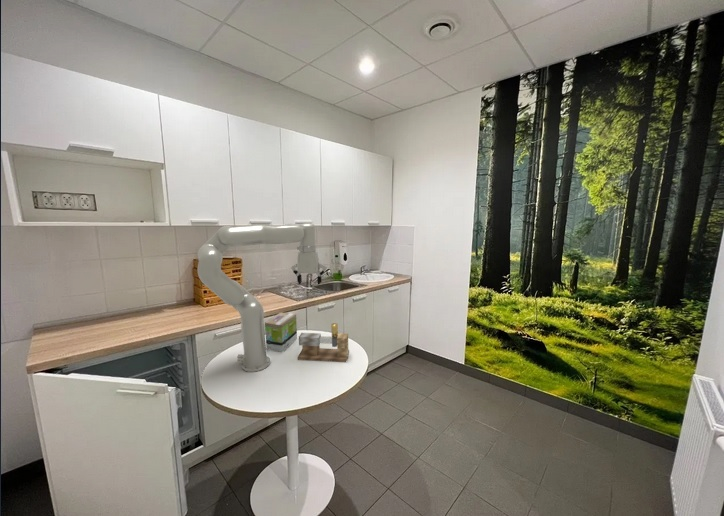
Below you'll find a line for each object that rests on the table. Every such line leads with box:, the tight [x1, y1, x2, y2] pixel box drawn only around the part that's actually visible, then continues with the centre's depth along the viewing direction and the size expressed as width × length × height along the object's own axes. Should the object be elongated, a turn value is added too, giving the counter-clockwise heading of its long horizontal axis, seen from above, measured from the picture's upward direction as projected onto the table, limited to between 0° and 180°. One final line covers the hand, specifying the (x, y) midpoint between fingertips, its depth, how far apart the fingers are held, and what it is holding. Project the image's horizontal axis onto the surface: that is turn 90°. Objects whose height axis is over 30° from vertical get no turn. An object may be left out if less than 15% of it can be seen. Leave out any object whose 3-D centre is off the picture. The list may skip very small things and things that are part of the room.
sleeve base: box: [297, 332, 350, 363], centre depth 144 cm, size 24×9×11 cm, turn 84°
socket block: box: [336, 332, 350, 357], centre depth 143 cm, size 4×5×10 cm
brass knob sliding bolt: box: [319, 322, 339, 348], centre depth 142 cm, size 14×4×10 cm, turn 84°
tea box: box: [264, 311, 298, 353], centre depth 156 cm, size 15×10×15 cm
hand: (309, 283), depth 146 cm, fingers open, 9 cm apart
